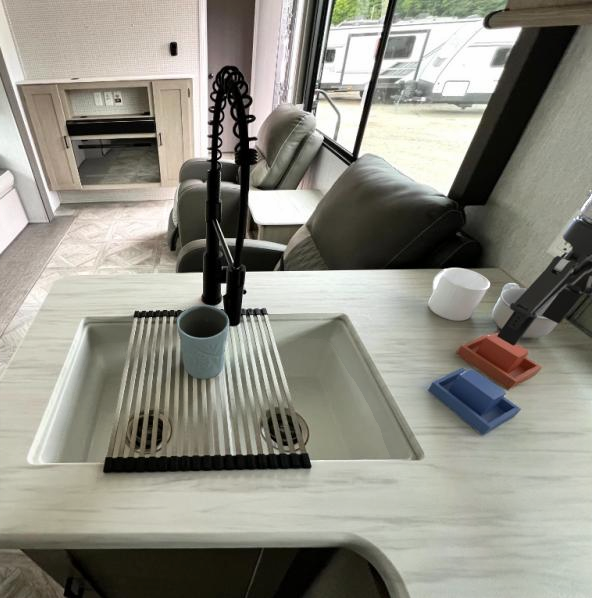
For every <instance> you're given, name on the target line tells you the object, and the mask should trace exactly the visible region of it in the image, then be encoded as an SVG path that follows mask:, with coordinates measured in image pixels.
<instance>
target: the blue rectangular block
mask: <svg viewBox="0 0 592 598" xmlns="http://www.w3.org/2000/svg"><path fill="white" fill-rule="evenodd" d="M466 370H467V371H465V372H463V373H461V374H459V375H458V377H457V378H456V380H455V381H454V383H453V384H452V386H451V387H450V388H449V390H448V391H449V392H450V393H451V394H452V395H454V396H455V397H456V398H458V399H459V400H460V401H461V402H463V403H464V404H465V405H466V406H468V407H469V408H470V409H472V410H473V411H474V412H475V413H477V414H478V415H479V416H482V415H484V414H485V413H487V412H489V411H491V410H492V409H493V408H494V407H495V406H496V405H497V403H498V402H499V401H500V400H501V399H502V398H503V397H505V395H506V394H507V391H505V390H504V389H502V388H501V387H500V386H498V385H496V384H495V383H493V382H492V381H491V380H489V379H488V378H486V377H485V376H483V375H482V374H481V373H479V372H477V371H476V370H475V369H473V368H470V369H466Z"/></svg>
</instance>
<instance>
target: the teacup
mask: <svg viewBox="0 0 592 598" xmlns="http://www.w3.org/2000/svg"><path fill="white" fill-rule="evenodd" d="M527 289H528V288H525V287H520V286H519V284H517V283H515V282H508V283H506V284H505V285H504V286H503V287H502V290H501V293H500V296H499V298H498V300H497V302H496V303H495V305H494V307H493V309H492V313H491V317H492V320H493V322H494V323H495V324H496V326H498V328H499V329H500V330H501V329H502V328H503V327H504V325H505V324H506V322H507V321H508V319H509V318H510V317H511V315H512V314H513V312H514V311H513V310H511V309H510V305H511V303H515V302H516V301H517V300H518V299H519V298H520V297H521V295H522V294H523V293H524V292H525V291H526V290H527ZM554 299H555V297H554V298H553V299H552V300H551V301H550V302H549V303H548V304H546V305H545V306H544V307H543V308H542V309H541V310H540V311H539V312H538V313H537V314H536V315H537V317H536V319H535V320H534V321H533V323H532V324H531V325H530V327H529V328H528V329H527V331H526V332H525V333H524V334H523V336H522V337H521V338H522V339H535V338H536V339H537V338H542V337H545V336H547V335H548V334H549V333H551V332H552V331H553V330H554V329H555V328H556V327H557V325H558V323H556V322H554V321H552V320H550V319H548V318H546V317H544V316H542V314H543V313H544V312H545V310H546V309H547V308H548V306H549V305H550V304H551V303H552V301H553V300H554ZM521 338H520V339H521Z"/></svg>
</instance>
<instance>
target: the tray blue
mask: <svg viewBox="0 0 592 598" xmlns="http://www.w3.org/2000/svg"><path fill="white" fill-rule="evenodd" d="M467 370H468V369H466V368H465V367H460V368H459V369H457V370H455V371H452V372H450V373H448V374H446V375H444V376H441V377H440V378H438V379H435V380H434V381H432V382H431V384H430V385H429V387H428V389H427V391H428V393H430V394H431V395H432V396H434V398H436V399H438V401H440V402H441V403H442V404H443V405H444V406H446V407H447V408H448V409H449V410H451V411H452V412H453V413H454V414H456V415H457V416H458V417H459V418H460V419H462V420H463V421H464V422H465V423H467V424H468V425H469V426H470V427H472V428H473V429H474V430H475V431H476V432H478V433H479V434H480V435H481V436H485V435H487V434H488V433H490V432H491V431H493V430H495V429H497V428H499V427H500V426H502V425H504V424H505V423H507V422H508V421H511V420H512V419H515V417H516V416H517V415H518V414H519V412H521V410H522V408H521V407H519V406H518V405H517V404H515V403H514V402H512V401H511V400H510V399H508V398H507V397H505V396H504V397H503V398H502V399H501V400H500V401H499V402H498V403H497V405H496V406H495V407H494V408H493V409H492V410H491V411H489V412H487V413H485V414H484V415H482V416H479V415H478V414H477V413H475V412H474V411H473V410H472V409H470V408H469V407H468V406H466V405H465V404H464V403H463V402H461V401H460V400H459V399H458V398H456V397H455V396H454V395H452V394H451V393H450V392H449V391H448V390H449V388H450V387H451V386H452V384H453V383H454V381H455V380H456V378H457V377H458V375H459V374H461V373H463V372H465V371H467Z"/></svg>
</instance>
